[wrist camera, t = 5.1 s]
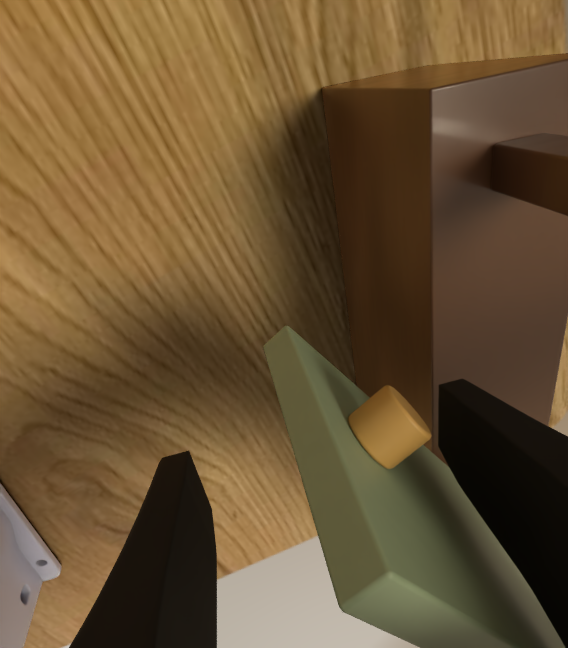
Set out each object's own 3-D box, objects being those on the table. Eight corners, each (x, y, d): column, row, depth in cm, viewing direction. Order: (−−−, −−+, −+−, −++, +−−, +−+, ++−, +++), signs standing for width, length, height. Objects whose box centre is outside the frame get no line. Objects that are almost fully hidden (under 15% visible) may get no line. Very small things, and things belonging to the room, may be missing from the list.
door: (528, 499, 15) (704, 711, 10) (486, 529, 16) (635, 748, 10) (318, 293, 10) (464, 523, 5) (261, 345, 10) (338, 612, 5)
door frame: (430, 403, 24) (723, 782, 11) (360, 422, 23) (574, 838, 10) (427, 65, 16) (1531, -31, 3) (321, 87, 15) (1019, 92, 2)
